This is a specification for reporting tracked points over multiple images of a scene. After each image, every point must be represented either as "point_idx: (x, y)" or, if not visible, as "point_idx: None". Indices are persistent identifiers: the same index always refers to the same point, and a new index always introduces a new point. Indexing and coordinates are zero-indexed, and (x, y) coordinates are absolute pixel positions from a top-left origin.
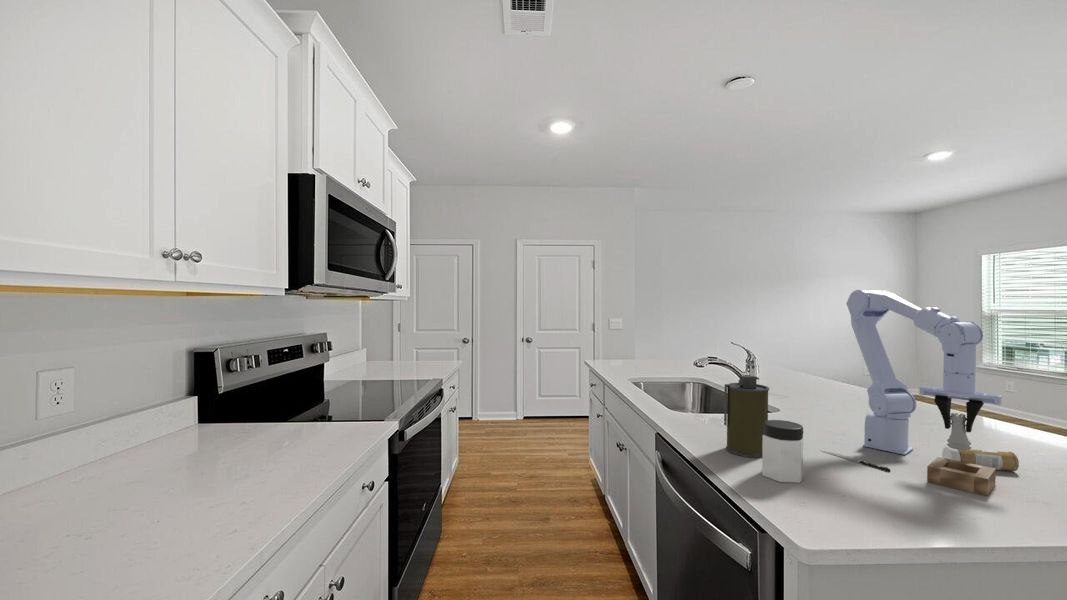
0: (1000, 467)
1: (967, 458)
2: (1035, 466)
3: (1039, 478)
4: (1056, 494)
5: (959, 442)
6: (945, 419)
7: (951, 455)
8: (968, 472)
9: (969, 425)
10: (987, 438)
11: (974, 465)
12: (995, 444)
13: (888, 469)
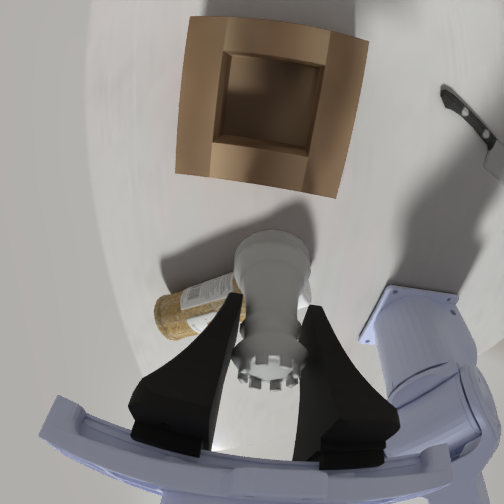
0: (189, 287)
1: None
2: (156, 347)
3: (133, 280)
4: (93, 181)
5: (270, 244)
6: (327, 334)
7: None
8: (244, 48)
9: (223, 311)
10: (232, 429)
11: (229, 161)
12: (221, 415)
13: (447, 91)
